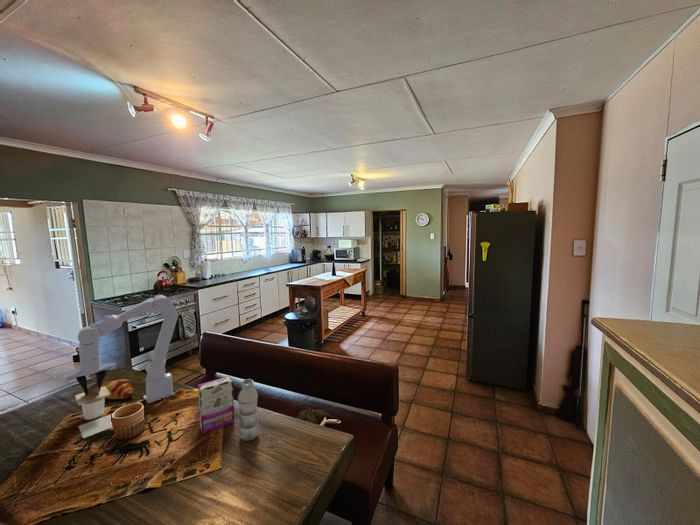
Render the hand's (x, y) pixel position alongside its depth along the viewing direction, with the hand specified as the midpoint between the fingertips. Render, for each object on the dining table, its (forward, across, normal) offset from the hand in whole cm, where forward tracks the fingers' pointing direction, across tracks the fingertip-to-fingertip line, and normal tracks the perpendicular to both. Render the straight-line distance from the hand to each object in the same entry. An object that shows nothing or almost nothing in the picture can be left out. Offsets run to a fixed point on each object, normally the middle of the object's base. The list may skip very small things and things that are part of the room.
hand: (92, 392), depth 109 cm
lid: (+1, 0, 0) cm, 1 cm away
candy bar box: (+10, -28, +42) cm, 51 cm away
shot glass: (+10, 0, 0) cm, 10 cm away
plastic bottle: (+10, -32, +57) cm, 66 cm away
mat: (+9, 0, +10) cm, 13 cm away
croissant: (+10, -10, -13) cm, 19 cm away
